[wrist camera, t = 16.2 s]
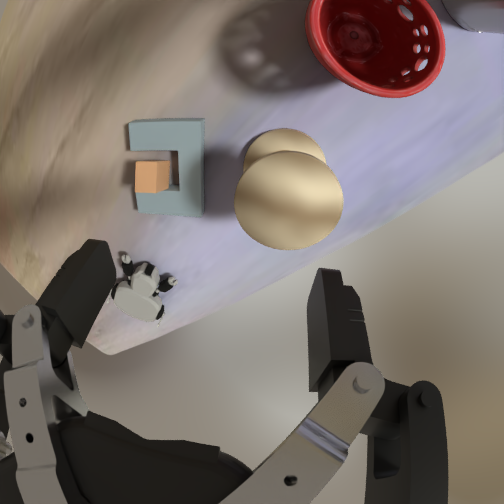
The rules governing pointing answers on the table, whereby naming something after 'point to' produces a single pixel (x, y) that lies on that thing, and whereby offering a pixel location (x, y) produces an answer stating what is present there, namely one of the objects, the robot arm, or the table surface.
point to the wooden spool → (287, 191)
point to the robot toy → (141, 291)
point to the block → (152, 176)
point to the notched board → (189, 157)
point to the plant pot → (376, 44)
